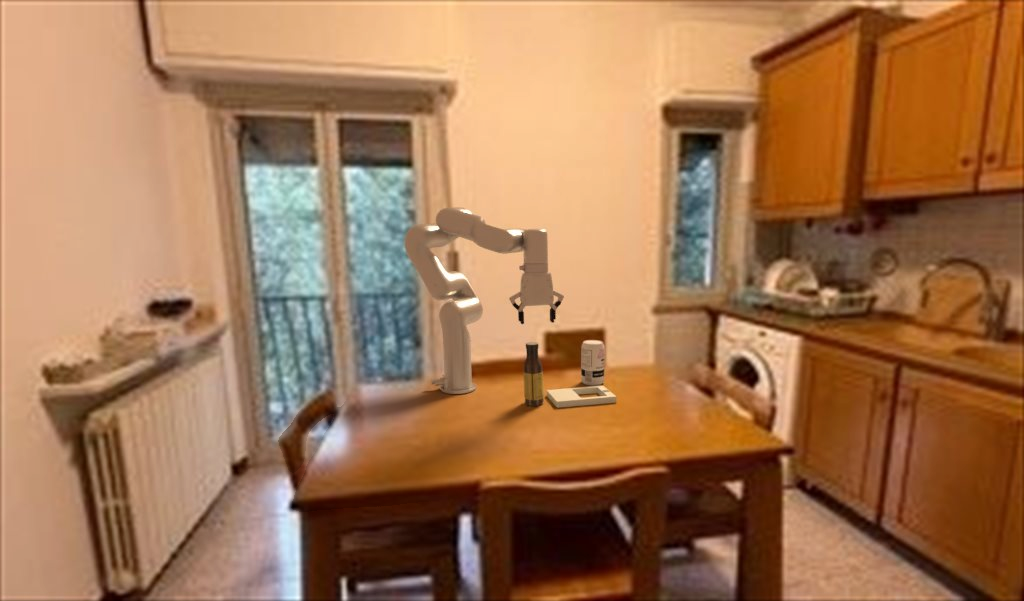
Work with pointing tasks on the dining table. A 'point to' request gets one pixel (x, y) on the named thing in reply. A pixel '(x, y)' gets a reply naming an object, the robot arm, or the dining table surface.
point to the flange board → (571, 397)
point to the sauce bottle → (533, 376)
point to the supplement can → (592, 362)
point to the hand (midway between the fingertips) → (537, 322)
